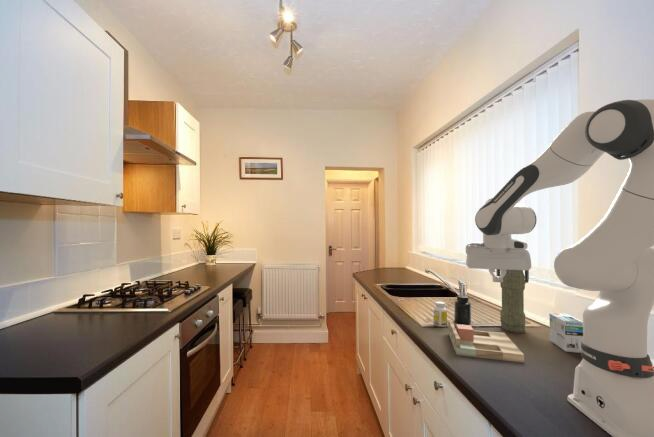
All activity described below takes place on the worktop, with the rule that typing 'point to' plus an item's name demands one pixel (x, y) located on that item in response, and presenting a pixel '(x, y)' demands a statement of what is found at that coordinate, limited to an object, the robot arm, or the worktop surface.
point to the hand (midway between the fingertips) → (497, 281)
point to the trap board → (486, 345)
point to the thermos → (513, 300)
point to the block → (465, 332)
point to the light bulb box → (566, 332)
